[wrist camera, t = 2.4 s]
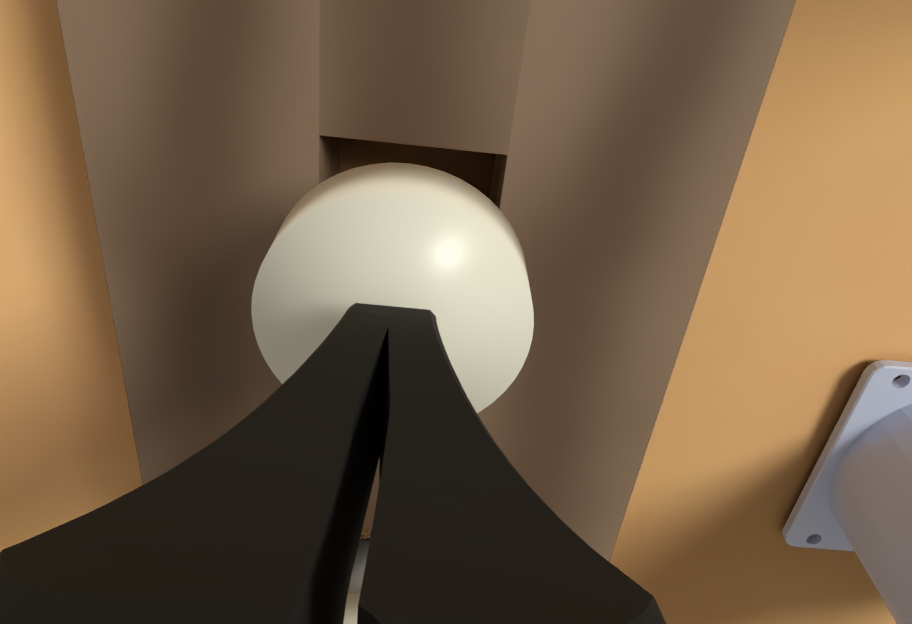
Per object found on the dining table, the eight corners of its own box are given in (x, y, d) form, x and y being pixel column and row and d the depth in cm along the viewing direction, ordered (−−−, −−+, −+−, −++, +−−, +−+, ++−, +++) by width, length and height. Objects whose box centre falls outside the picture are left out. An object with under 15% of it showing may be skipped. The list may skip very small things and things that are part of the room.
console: (762, -91, 15) (824, -86, 13) (550, 636, 29) (559, 710, 26) (100, -174, 14) (23, -185, 12) (204, 612, 28) (179, 685, 25)
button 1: (533, 131, 15) (557, 211, 11) (501, 328, 17) (511, 443, 14) (296, 106, 15) (243, 179, 11) (299, 309, 17) (257, 422, 14)
